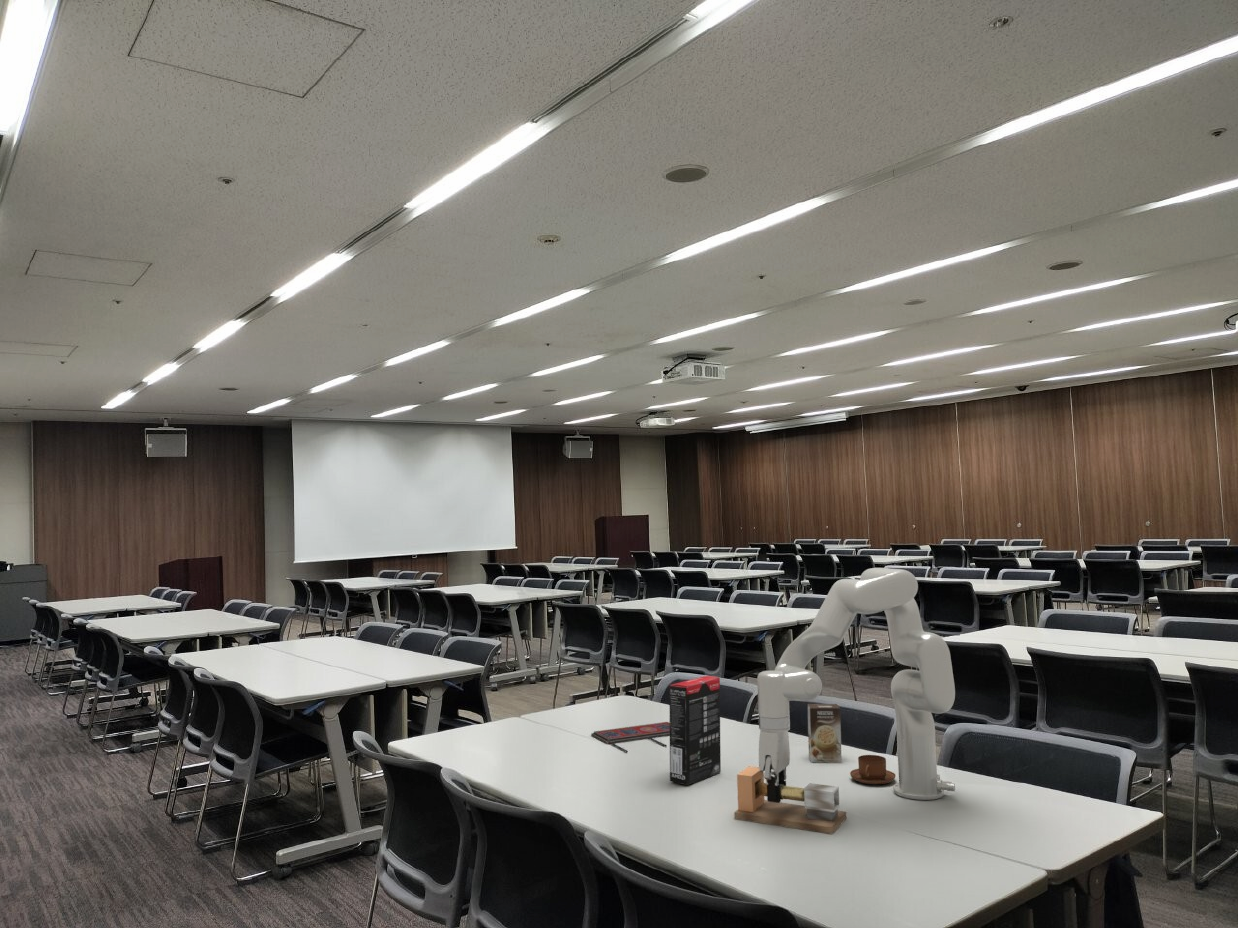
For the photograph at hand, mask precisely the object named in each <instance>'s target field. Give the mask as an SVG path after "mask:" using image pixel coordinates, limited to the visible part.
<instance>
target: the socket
mask: <svg viewBox="0 0 1238 928" xmlns="http://www.w3.org/2000/svg"><path fill="white" fill-rule="evenodd" d="M764 780H765V778H764V771H763V772H760V770H759V766H758V767H757V766H751V765H750V766H747V767H746V768H744V769H743V770H742V771H740V772H739V773H737V774H736V783H737V785H736V786H737V810H742V811H748V812H754V811H755V810H756V809H757V808H759V807H760V806H761V805H762V804H764V803H765V801H764V800H765V796H760V795H755V782H760V783H765V781H764Z"/></svg>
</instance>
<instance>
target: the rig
mask: <svg viewBox="0 0 1238 928" xmlns="http://www.w3.org/2000/svg"><path fill="white" fill-rule="evenodd" d="M803 788H804V799H805V802H804V804H803V805H802V804H796V803H795V804H794V803H789V802H788V803H787V802H782V801H781V802H780V803H776V802H769V801H768V800H767V799H764V801H765V803H764V804H762V805H761V806H760V807H759V808H757V809H756V810H755V811H754V812H748V811H742V810H738V809H736V810H735V811H734V814H733V815H734V820H741V821H748V822H754V823H761V824H766V825H771V826H778V827H779V826H780V827H786V828H791V829H797V830H803V831H804V830H805V831H811V832H816V833H817V832H818V833H822V834H829V835H833V834H834V833H835V832H836V830H837V829H839V827H840V826H841V825H842V824H843V823H844V822H845V820H847V811H843V810H838V809H839V808H840V787H839V786H835V785H827V784H821V783H814V782H809V783H808V784H807V785H806V786H805V787H803Z"/></svg>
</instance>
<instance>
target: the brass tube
mask: <svg viewBox="0 0 1238 928" xmlns="http://www.w3.org/2000/svg"><path fill="white" fill-rule="evenodd" d="M779 785H780V795H781V800H782V801H783V800H789V801H796V802H804V803H805V799H804V788H805V787H796V786H789V785H786V786H784V785H783V784H779ZM755 795H760V796H764V797H767V785H766V782H764V783H760V782H755Z"/></svg>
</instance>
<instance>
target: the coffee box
mask: <svg viewBox="0 0 1238 928" xmlns="http://www.w3.org/2000/svg"><path fill="white" fill-rule="evenodd" d="M841 730H842V728H841V706H840V705H838V704H837V703H807V736H808V738H807V739H808V742H807V743H808V758H809V760H810V762H811V763H839V764H840V763H842V762H843V759H842V757H843V756H842V731H841Z"/></svg>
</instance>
